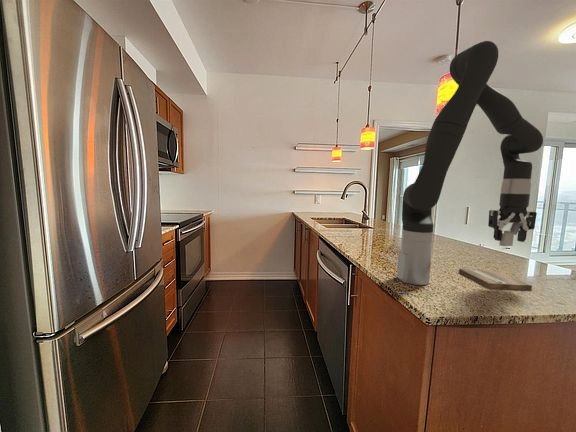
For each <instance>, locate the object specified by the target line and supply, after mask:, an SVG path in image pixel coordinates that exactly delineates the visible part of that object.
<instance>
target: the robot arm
mask: <svg viewBox="0 0 576 432" xmlns="http://www.w3.org/2000/svg"><path fill="white" fill-rule="evenodd" d="M498 61H499V48H498V45H497V44H496V42H494V41H492V40H484V41H480V42H477V43H476V44H474V45H472V46H470V47H468V48H467V49H465V50H462V51H461V52H459V53H458V54H456V55H455V56H454V57H453V59H452V60H451V61H450V64H449V74H450V76H451V78H452V79H453V81H454V82H455V83H456V84H457V88H456V90H455V92H454V93H453V94H452V96H451V98H450V99H449V100H448V101H447V102H446V103H445V104H444V106H443V107H442V108H441V110H440V112H439V113H438V114H437V116H436V118H435V119H434V121H433V124H432V126H431V128H430V131H429V133H428V135H427V140H426V142H425V143H426V144H425V149H424V157H423V163H422V166H421V169H420V170H419V173H418V175H417V177H416V178H415V180H414V182H413V183H411V184H409V185H408V186H407V187H406V188H405V190H404V192H403V193H402V194H403V195H402V204H401V205H402V206H401V223H402V231H401V232H402V233H401V244H400V250H398V252H397V253H398V254H397V265H396V266H397V267H396V268H397V269H396V278H398V280H399V281H400V282H402V283H405V284H410V285H415V286H425V285H429V283H430V274H431V273H430V272H431V264H432V263H431V261H432V249H433V238H434V237H433V235H434V227H435V226H434V225H435V224H434V221H433V219H432V209H433V208H434V207H435V206H436V205H437V203H438V202H439V199H440V198H441V197H440V196H441V193H442V189H443V187H444V183H445V179H446V176H447V173H448V171H449V169H450V166H451V164H452V162H453V160H454V157H455V155H456V153H457V151H458V149H459V147H460V144H461V141H462V139H463V137H464V134H465V133H466V130H467V127H468V124H469V122H470V120H471V117H472V115H473V113H474V110H475V108H476V106H479V108H480V109H481V110H482V111H483V112H484V115H486V117H487V118H488V119H489V122H490V123H491V125H492V126H493V127H494V129H495V131H496V132H497V133H498V134H499V135H506V136H504V137H503V139H502V140H501V143H500V147H499V148H500V152H501V159H502V163H503V167H504V169H503V175H502V176H503V177H502V183H501V187H500V196H499V204H498V205H499V206H500V207H499V209H498V210H496V209H495V210H494V209H490V210H489V211H488V223H487V225H488V227H489V228H492V229H493V239H494V241H497V242H498V241H499V242H500V241H501V238H502V233H503V229H504V228H505V226H508V224H513V223H519V225H521V226H520V228H519V230H518V232H517V237H516V238H517V239H516V241H517V242H520V243H524V242H525V241H526V240H527V236H528V235H527V234H528V231H529V230H535V227H536V221H537V216H538V215H537V214H538V213H537V211H529V210H527V208H528V207H529V206H530V197H531V188H532V182H531V181H532V174H533V173H532V171H533V164H532V162H531V161H528V160H521V158H520V155H521V154H522V155H523V154H530V153H531V154H532V153H534V152H536V151H538V150H540V149H542V148H541V147H542V146H543V144H544V136H543V134H542V132H541V131H540V130H539V129H538V128H537V127H536V126H534V124H532V123H531V122H529V121H528V120H527V119H526V118H524V117H523V116H522V114H521V112H520V110H519V109H518V107H517V106H516V105H515V103H514V102H513V101H512V100H511V99H510V98H509V97H508V96H506V95H505V94H503V93H502V92H500V91H498V90H497V89H495V88H493V87H492V86H491V85H489V84H488V82H489V80H490V78H491V76H492V74H493V72H494V71H495V68H496V66H497V63H498Z"/></svg>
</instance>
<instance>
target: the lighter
mask: <svg viewBox="0 0 576 432" xmlns="http://www.w3.org/2000/svg"><path fill="white" fill-rule="evenodd" d="M520 226H521V225H519V223H511V226H510V228H509V229H504V231H503V232H502V238H501V241H499V246H501V247H511V246H513V245H514V244H513V243H514V236H516V235H517V236H518V230H520V229H519V228H520Z"/></svg>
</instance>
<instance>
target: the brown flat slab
mask: <svg viewBox="0 0 576 432" xmlns="http://www.w3.org/2000/svg"><path fill="white" fill-rule="evenodd" d="M458 273H460V274H461V275H464V276H465V277H467V278H469V279H471V280H473V281H474V282H477V283H479V284H481V285H482V286H485V287H486V288H488V289H504V290H505V289H506V290H525V291H532V289H533V285H532V284H530V283H527V282H524V281H522V280H519V279H517V278H514V277H513V276H510V275H508V274H505V273H503V272H501V271H498V270H496V269H482V268H481V269H476V268H459V269H458Z"/></svg>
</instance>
